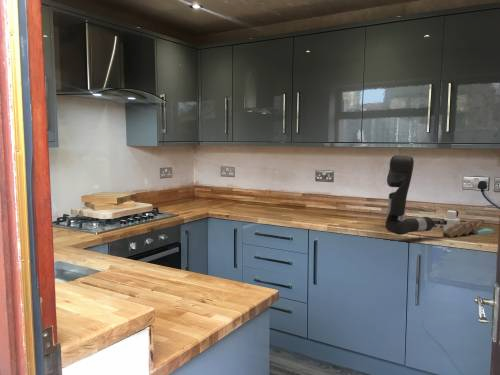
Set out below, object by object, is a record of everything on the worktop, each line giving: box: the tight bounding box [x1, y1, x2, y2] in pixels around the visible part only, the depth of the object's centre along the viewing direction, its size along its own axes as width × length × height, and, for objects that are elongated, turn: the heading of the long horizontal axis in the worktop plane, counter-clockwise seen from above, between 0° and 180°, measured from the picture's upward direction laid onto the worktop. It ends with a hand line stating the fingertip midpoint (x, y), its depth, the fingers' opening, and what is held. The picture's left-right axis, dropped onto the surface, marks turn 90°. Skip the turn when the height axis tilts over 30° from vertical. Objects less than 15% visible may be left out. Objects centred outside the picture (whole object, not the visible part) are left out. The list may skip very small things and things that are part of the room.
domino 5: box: [470, 227, 495, 235], centre depth 236 cm, size 5×2×12 cm
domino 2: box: [454, 221, 472, 238], centre depth 229 cm, size 5×2×12 cm
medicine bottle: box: [442, 209, 461, 232], centre depth 240 cm, size 7×7×12 cm
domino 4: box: [470, 219, 485, 234], centre depth 236 cm, size 5×2×12 cm
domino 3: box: [461, 220, 477, 236], centre depth 233 cm, size 5×2×12 cm
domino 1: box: [442, 222, 466, 239], centre depth 226 cm, size 5×2×12 cm
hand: (445, 222), depth 224 cm, fingers closed
